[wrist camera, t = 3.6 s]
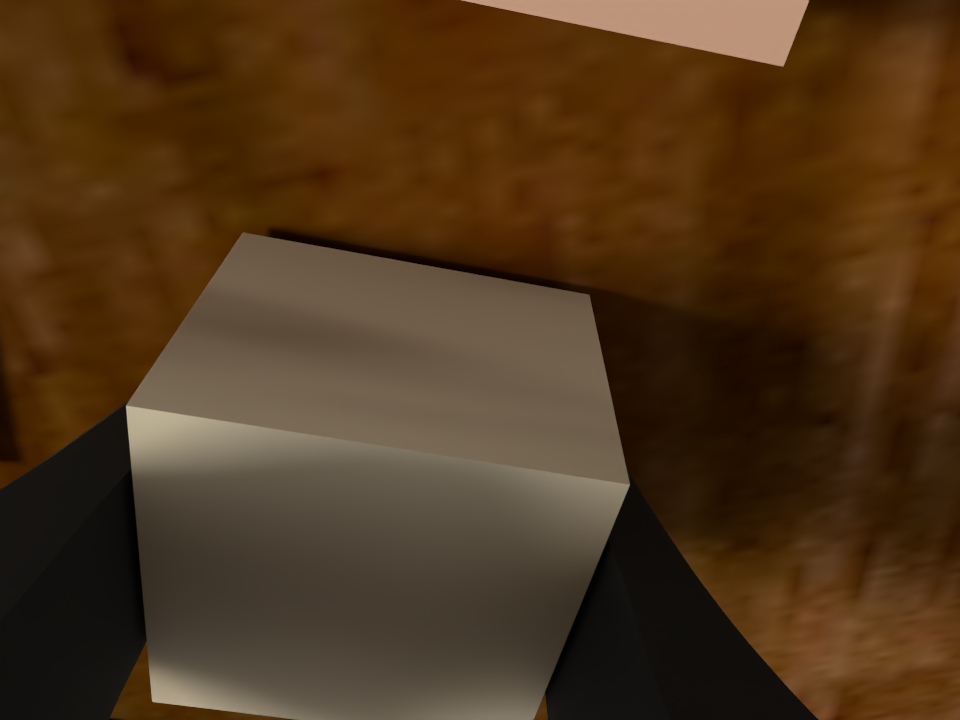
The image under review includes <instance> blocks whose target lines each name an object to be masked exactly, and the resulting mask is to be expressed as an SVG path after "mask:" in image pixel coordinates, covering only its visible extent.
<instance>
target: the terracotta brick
mask: <svg viewBox="0 0 960 720" xmlns="http://www.w3.org/2000/svg"><path fill="white" fill-rule="evenodd" d="M463 1H467V2H472V3H477V4H482V5H487V6H492V7H497V8H501V9H506V10H511V11H516V12H521V13H526V14H531V15H535V16H540V17H545V18H550V19H555V20H560V21H564V22H569V23H574V24H579V25H584V26H589V27H594V28H598V29H603V30H608V31H613V32H618V33H623V34H628V35H632V36H637V37H642V38H647V39H652V40H657V41H662V42H666V43H671V44H676V45H681V46H686V47H691V48H696V49H700V50H705V51H710V52H715V53H720V54H725V55H730V56H734V57H739V58H744V59H749V60H754V61H759V62H764V63H768V64H773V65H778V66H784V63H785V61H786V58H787V56H788V53H789V51H790V48H791V46H792V43H793V40H794V38H795V35H796V33H797V30H798V28H799V25H800V23H801V20H802V18H803V15H804V12H805V10H806V7H807V5H808V2H809V0H463Z"/></svg>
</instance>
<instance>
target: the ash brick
mask: <svg viewBox="0 0 960 720" xmlns="http://www.w3.org/2000/svg"><path fill="white" fill-rule="evenodd" d="M126 412H127V424H128V435H129V446H130V457H131V469H132V480H133V491H134V502H135V514H136V525H137V536H138V547H139V558H140V570H141V581H142V592H143V603H144V615H145V626H146V637H147V648H148V660H149V671H150V682H151V693H152V702H159V703H167V704H175V705H183V706H191V707H199V708H207V709H216V710H224V711H232V712H240V713H248V714H256V715H264V716H272V717H281V718H289V719H297V720H534V717H535V715H536V712H537V710H538V707H539V705H540V703H541V700H542V698H543V695H544V693H545V690H546V688H547V686H548V683H549V681H550V678H551V676H552V673H553V671H554V669H555V666H556V664H557V661H558V659H559V656H560V654H561V651H562V649H563V647H564V644H565V642H566V639H567V637H568V634H569V632H570V630H571V627H572V625H573V622H574V620H575V617H576V615H577V612H578V610H579V608H580V605H581V603H582V600H583V598H584V595H585V593H586V591H587V588H588V586H589V583H590V581H591V578H592V576H593V574H594V571H595V569H596V566H597V564H598V561H599V559H600V556H601V554H602V552H603V549H604V547H605V544H606V542H607V539H608V537H609V535H610V532H611V530H612V527H613V525H614V522H615V520H616V517H617V515H618V513H619V510H620V508H621V505H622V503H623V500H624V498H625V496H626V493H627V491H628V488H629V486H630V483H629V478H628V473H627V469H626V464H625V459H624V455H623V450H622V445H621V441H620V436H619V431H618V427H617V422H616V417H615V413H614V408H613V403H612V398H611V394H610V389H609V384H608V380H607V375H606V370H605V366H604V361H603V356H602V352H601V347H600V342H599V338H598V333H597V328H596V323H595V319H594V314H593V309H592V305H591V300H590V295H588V294H583V293H577V292H571V291H566V290H560V289H555V288H549V287H544V286H538V285H532V284H527V283H521V282H516V281H510V280H505V279H499V278H493V277H488V276H482V275H477V274H471V273H466V272H460V271H455V270H449V269H443V268H438V267H432V266H427V265H421V264H416V263H410V262H404V261H399V260H393V259H388V258H382V257H377V256H371V255H365V254H360V253H354V252H349V251H343V250H338V249H332V248H327V247H321V246H315V245H310V244H304V243H299V242H293V241H288V240H282V239H276V238H271V237H265V236H260V235H254V234H249V233H242V235H241V236H240V238H239V239H238V241H237V242H236V243H235V245H234V246H233V248H232V249H231V251H230V252H229V254H228V255H227V257H226V258H225V260H224V261H223V263H222V264H221V266H220V267H219V269H218V270H217V272H216V273H215V275H214V276H213V278H212V279H211V280H210V282H209V283H208V285H207V286H206V288H205V289H204V291H203V292H202V294H201V295H200V297H199V298H198V300H197V301H196V303H195V304H194V306H193V307H192V309H191V310H190V312H189V313H188V315H187V316H186V317H185V319H184V320H183V322H182V323H181V325H180V326H179V328H178V329H177V331H176V332H175V334H174V335H173V337H172V338H171V340H170V341H169V343H168V344H167V346H166V347H165V349H164V350H163V351H162V353H161V354H160V356H159V357H158V359H157V360H156V362H155V363H154V365H153V366H152V368H151V369H150V371H149V372H148V374H147V375H146V377H145V378H144V380H143V381H142V383H141V384H140V386H139V387H138V388H137V390H136V391H135V393H134V394H133V396H132V397H131V399H130V400H129V402H128V403H127V405H126Z"/></svg>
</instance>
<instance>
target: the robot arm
mask: <svg viewBox="0 0 960 720" xmlns="http://www.w3.org/2000/svg"><path fill="white" fill-rule="evenodd" d="M128 402H129V400H128V401H127V402H126V403H124V404H123V405H122V406H120V407H119V408H118V409H116V410H115V411H114V412H112V413H111V414H109V415H108V416H107V417H105V418H104V419H103V420H101V421H100V422H99V423H97V424H96V425H94V426H93V427H92V428H90V429H89V430H88V431H86V432H85V433H83V434H82V435H80V436H79V437H78V438H76V439H75V440H73V441H72V442H70V443H69V444H68V445H66V446H65V447H63V448H62V449H61V450H59V451H58V452H56V453H55V454H53V455H52V456H51V457H49V458H48V459H46V460H45V461H43V462H42V463H40V464H39V465H37V466H36V467H34V468H33V469H31V470H30V471H28V472H27V473H25V474H24V475H22V476H20V477H19V478H17V479H16V480H14V481H13V482H11V483H9V484H8V485H6V486H5V487H3V488H2V489H0V720H109V718H110V716H111V713H112V711H113V709H114V707H115V705H116V702H117V700H118V698H119V696H120V694H121V692H122V690H123V687H124V685H125V683H126V681H127V679H128V677H129V675H130V673H131V671H132V669H133V667H134V665H135V663H136V661H137V659H138V657H139V655H140V653H141V651H142V649H143V647H144V645H145V643H146V641H147V637H146V626H145V615H144V603H143V592H142V581H141V570H140V558H139V547H138V536H137V525H136V514H135V502H134V491H133V480H132V469H131V457H130V446H129V435H128V424H127V412H126V405H127V403H128ZM627 473H628V478H629V483H630V486H629V488H628V491H627V493H626V496H625V498H624V500H623V503H622V505H621V508H620V510H619V513H618V515H617V517H616V520H615V522H614V525H613V527H612V530H611V532H610V535H609V537H608V539H607V542H606V544H605V547H604V549H603V552H602V554H601V556H600V559H599V561H598V564H597V566H596V569H595V571H594V574H593V576H592V578H591V581H590V583H589V586H588V588H587V591H586V593H585V595H584V598H583V600H582V603H581V605H580V608H579V610H578V612H577V615H576V617H575V620H574V622H573V625H572V627H571V630H570V632H569V634H568V637H567V639H566V642H565V644H564V647H563V649H562V651H561V654H560V656H559V659H558V661H557V664H556V666H555V669H554V671H553V673H552V676H551V678H550V681H549V683H548V686H547V688H546V690H545V695H546V704H547V714H548V720H818V719H817V718H816V717H815V716H814V715H813V714H812V713H811V712H810V711H809V710H808V709H807V708H806V707H805V705H804V704H803V703H802V702H801V701H800V700H799V699H798V698H797V697H796V696H795V695H794V694H793V693H792V692H791V691H790V690H789V688H788V687H787V686H786V685H785V684H784V683H783V682H782V681H781V680H780V678H779V677H778V676H777V675H776V674H775V673H774V672H773V670H772V669H771V668H770V667H769V666H768V665H767V664H766V662H765V661H764V660H763V659H762V658H761V657H760V656H759V654H758V653H757V652H756V651H755V650H754V649H753V648H752V646H751V645H750V644H749V643H748V642H747V641H746V639H745V638H744V637H743V636H742V635H741V633H740V632H739V631H738V630H737V628H736V627H735V626H734V625H733V624H732V622H731V621H730V620H729V619H728V617H727V616H726V615H725V613H724V612H723V611H722V609H721V608H720V607H719V605H718V604H717V603H716V602H715V600H714V599H713V598H712V596H711V595H710V594H709V592H708V591H707V590H706V588H705V587H704V586H703V584H702V583H701V582H700V580H699V579H698V577H697V576H696V575H695V573H694V572H693V570H692V569H691V568H690V566H689V565H688V563H687V562H686V560H685V559H684V557H683V556H682V554H681V553H680V551H679V550H678V549H677V547H676V546H675V544H674V543H673V541H672V540H671V538H670V537H669V535H668V534H667V532H666V531H665V529H664V528H663V526H662V525H661V523H660V522H659V520H658V518H657V517H656V515H655V514H654V512H653V511H652V509H651V507H650V506H649V504H648V503H647V501H646V499H645V498H644V496H643V495H642V493H641V491H640V490H639V488H638V487H637V485H636V483H635V482H634V480H633V478H632V477H631V475H630V473H629V472H628V470H627Z"/></svg>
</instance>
